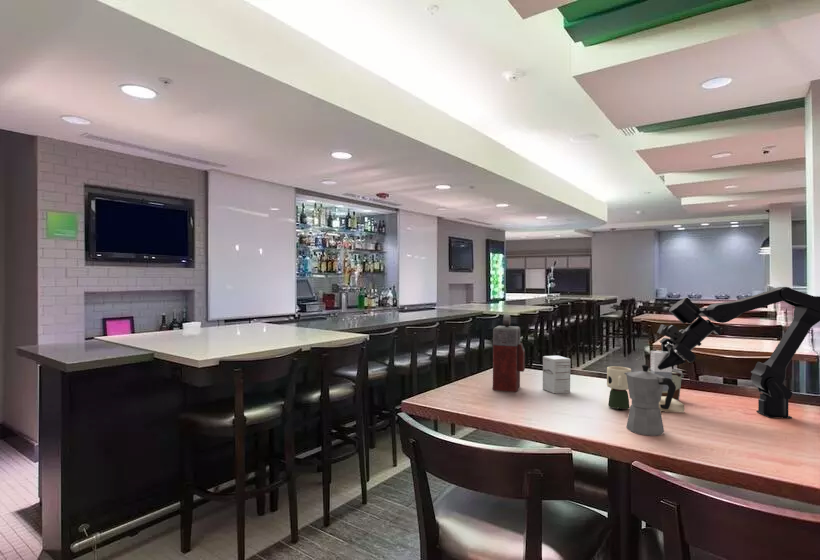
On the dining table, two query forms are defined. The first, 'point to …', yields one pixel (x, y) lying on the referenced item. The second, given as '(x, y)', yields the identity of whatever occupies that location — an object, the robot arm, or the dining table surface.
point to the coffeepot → (647, 401)
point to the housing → (655, 362)
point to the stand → (672, 405)
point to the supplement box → (556, 374)
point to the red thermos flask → (507, 357)
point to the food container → (676, 380)
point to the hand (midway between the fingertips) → (656, 367)
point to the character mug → (618, 387)
